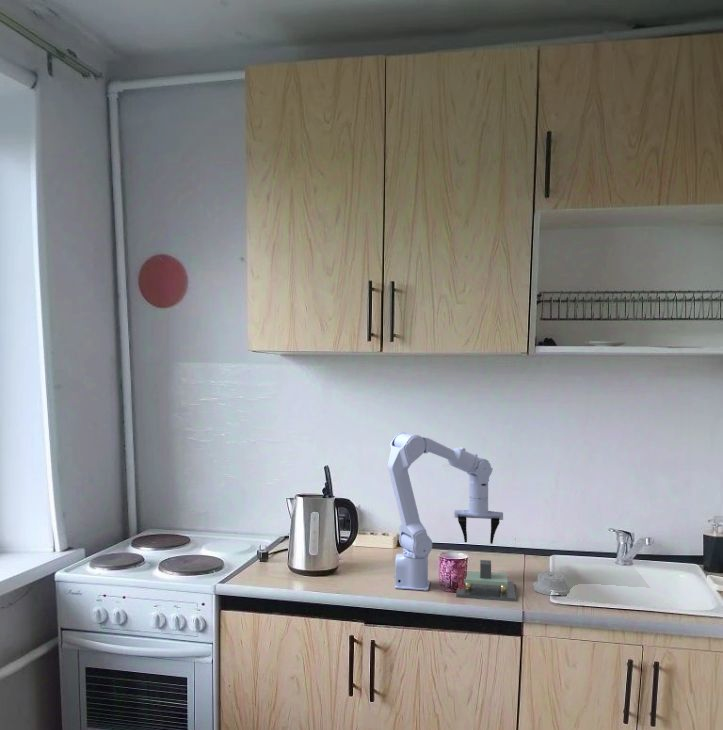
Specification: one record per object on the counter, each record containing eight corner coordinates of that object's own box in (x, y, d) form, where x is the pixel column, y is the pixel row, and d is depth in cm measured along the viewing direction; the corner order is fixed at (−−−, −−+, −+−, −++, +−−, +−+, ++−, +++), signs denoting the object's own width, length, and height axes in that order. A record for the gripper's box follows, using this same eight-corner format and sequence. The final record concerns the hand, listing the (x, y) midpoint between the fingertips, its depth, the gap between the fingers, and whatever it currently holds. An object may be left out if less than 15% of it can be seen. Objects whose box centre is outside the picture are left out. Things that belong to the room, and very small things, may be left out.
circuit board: (463, 583, 173) (464, 565, 173) (464, 574, 180) (464, 556, 181) (507, 586, 170) (507, 567, 170) (506, 576, 178) (506, 559, 178)
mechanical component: (575, 590, 176) (541, 582, 183) (575, 574, 176) (541, 567, 183) (562, 599, 169) (527, 591, 175) (562, 583, 169) (527, 575, 175)
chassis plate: (456, 597, 169) (456, 586, 169) (458, 580, 183) (458, 571, 183) (516, 601, 166) (516, 590, 166) (513, 584, 180) (513, 574, 180)
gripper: (502, 495, 190) (502, 540, 190) (455, 493, 193) (455, 537, 192) (503, 500, 183) (503, 546, 183) (454, 498, 186) (454, 543, 185)
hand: (478, 542), depth 187 cm, fingers open, 7 cm apart
